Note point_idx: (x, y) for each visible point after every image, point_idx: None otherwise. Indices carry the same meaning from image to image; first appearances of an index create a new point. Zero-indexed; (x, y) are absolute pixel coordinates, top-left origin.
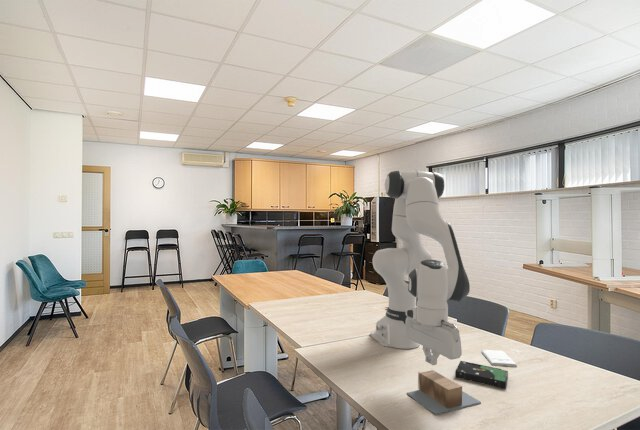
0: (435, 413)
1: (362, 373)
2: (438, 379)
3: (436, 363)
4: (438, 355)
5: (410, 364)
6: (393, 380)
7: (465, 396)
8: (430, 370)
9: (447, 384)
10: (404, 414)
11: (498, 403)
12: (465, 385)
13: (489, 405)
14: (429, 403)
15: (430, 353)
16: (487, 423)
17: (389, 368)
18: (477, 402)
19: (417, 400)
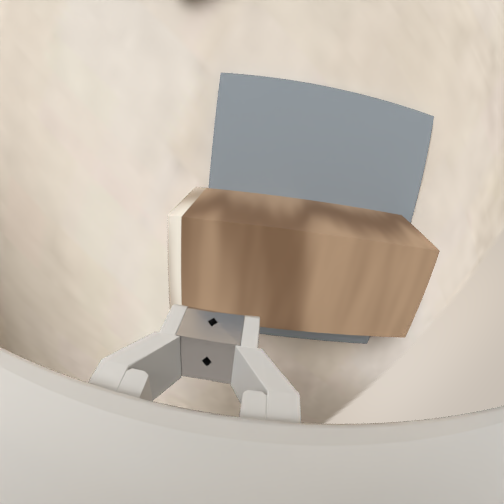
0: (364, 343)
1: (35, 324)
2: (305, 295)
3: (259, 323)
4: (285, 387)
5: (2, 109)
6: (89, 281)
7: (367, 125)
8: (179, 235)
9: (375, 300)
10: (300, 398)
11: (461, 57)
12: (273, 6)
13: (455, 103)
14: None
15: (163, 351)
16: (492, 238)
17: (9, 220)
18: (428, 134)
19: (267, 333)
